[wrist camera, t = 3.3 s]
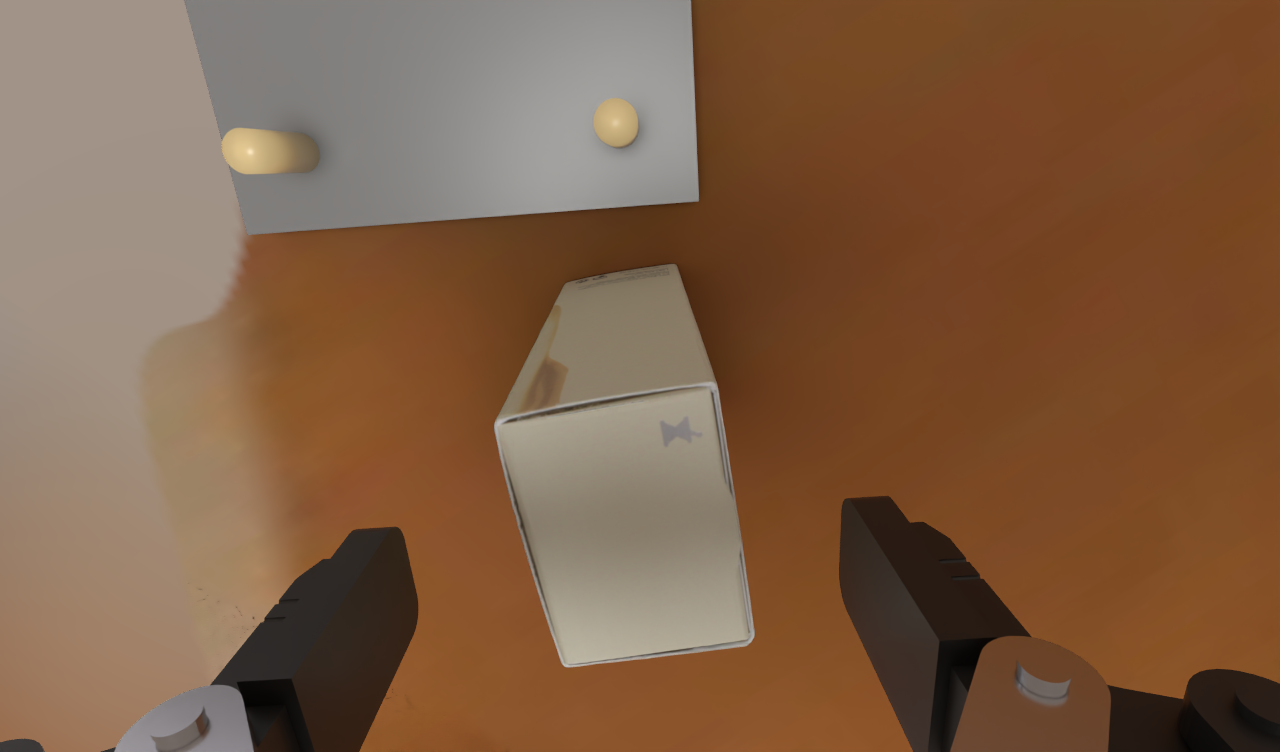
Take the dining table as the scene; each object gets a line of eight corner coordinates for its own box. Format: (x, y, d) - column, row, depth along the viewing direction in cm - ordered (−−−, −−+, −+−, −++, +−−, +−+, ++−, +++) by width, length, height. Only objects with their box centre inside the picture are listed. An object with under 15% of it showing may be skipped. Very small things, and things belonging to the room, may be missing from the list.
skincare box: (561, 280, 23) (478, 402, 11) (679, 259, 23) (718, 362, 11) (595, 439, 25) (556, 681, 13) (704, 422, 25) (760, 653, 13)
